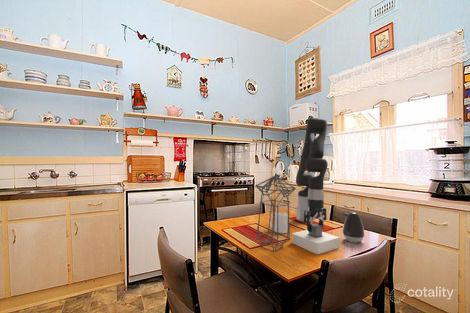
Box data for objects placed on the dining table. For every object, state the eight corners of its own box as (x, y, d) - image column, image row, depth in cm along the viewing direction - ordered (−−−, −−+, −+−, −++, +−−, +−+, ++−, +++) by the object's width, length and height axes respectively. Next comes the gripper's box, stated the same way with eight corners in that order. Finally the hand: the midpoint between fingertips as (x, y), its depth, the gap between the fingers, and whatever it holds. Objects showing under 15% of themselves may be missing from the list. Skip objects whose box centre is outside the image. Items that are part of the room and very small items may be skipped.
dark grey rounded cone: (345, 236, 130) (345, 209, 130) (365, 240, 123) (366, 212, 123) (339, 241, 122) (340, 212, 122) (361, 246, 115) (362, 215, 115)
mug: (266, 231, 136) (266, 214, 136) (269, 227, 143) (270, 211, 143) (286, 234, 131) (287, 216, 131) (289, 230, 139) (289, 213, 139)
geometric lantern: (269, 239, 123) (272, 174, 123) (295, 248, 112) (298, 177, 111) (249, 246, 112) (252, 174, 112) (275, 257, 101) (279, 178, 101)
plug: (308, 244, 116) (308, 224, 116) (314, 243, 119) (314, 223, 119) (315, 247, 113) (316, 227, 113) (321, 245, 115) (322, 225, 115)
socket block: (291, 243, 118) (291, 233, 118) (312, 237, 127) (312, 228, 127) (317, 254, 105) (317, 243, 105) (339, 247, 113) (339, 237, 113)
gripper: (318, 195, 123) (318, 226, 123) (300, 197, 115) (299, 230, 115) (331, 197, 116) (330, 230, 116) (312, 200, 109) (311, 234, 109)
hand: (315, 230), depth 116 cm, fingers open, 8 cm apart
